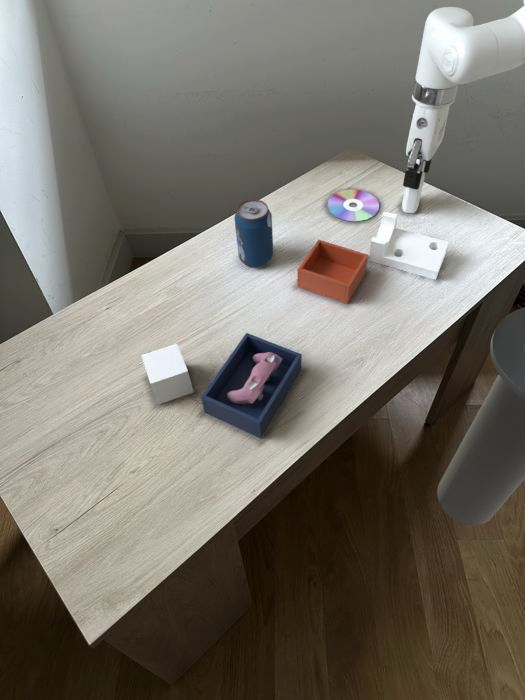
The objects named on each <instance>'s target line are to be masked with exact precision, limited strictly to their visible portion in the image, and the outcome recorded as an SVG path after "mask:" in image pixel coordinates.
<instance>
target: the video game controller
mask: <svg viewBox="0 0 525 700" xmlns="http://www.w3.org/2000/svg"><path fill="white" fill-rule="evenodd" d="M252 359H253V361H254V362H255V363H256V364H257V365H256V366H255V367H254V368H253V370H252V372H251V376H250V377H249V379H248V380H247V382H246V384H245V385H244V387H243V388H242V389H240V390H236V391H230V392H228V393H227V398H228V399H229V401H231V402H233V403H236V404H248V403H251V404H252V403H253V402H254V401H255V400H256V399H258V398H259V400H261V399H262V398H263V394H262V395H261V392H262V390H263V388H264V385H263V384H264V383H265V382H266V381H268V380H269V379H270V377H269V376H270V375H271V374H272V373H273V372H274V371H275V370H276V369H277V368H278V366H279V364H280V363H281V361H282V358H281V357H279V356H278V355H276V354H274V353H272V352H267V353H258V354H255V355H254V356H253V358H252ZM259 400H258V401H259Z"/></svg>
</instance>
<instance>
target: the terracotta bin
mask: <svg viewBox="0 0 525 700" xmlns="http://www.w3.org/2000/svg"><path fill="white" fill-rule="evenodd" d="M368 262H369V254H368V253H363V252H360V251H357V250H354V249H351V248H347V247H344V246H341V245H338V244H335V243H332V242H328V241H325V240H322V239H317V241H316V242H315V244H314V245H313V247H312V248H311V249H310V251H308V254H307V255H306V257H305V258H304V259H303V261H302V262H301V264H300V265H299V267H298V268H297V283H296V284H297V285H296V286H297V288H300V289H302V290H305V291H308V292H310V293H311V292H312V293H314V294H317V295H319V296H323V297H325V298H328V299H330V300H334V301H336V302H340V303H343V304H346V305H348V304H349V302H350V300H351V299H352V297H353V295H354V293H355V292H356V290H357V289H358V287H359V285H360V284H361V282H362V280H363V278H364V277H365V275H366V273H367V266H368Z"/></svg>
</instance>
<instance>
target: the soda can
mask: <svg viewBox="0 0 525 700" xmlns="http://www.w3.org/2000/svg"><path fill="white" fill-rule="evenodd" d="M234 229H235V236H236V245H237V247H236V248H237V255H238V259H239V260H240V262H242V264H244V265H245V267H248V268H250V269H259V268H263V267H265V266H266V265H268V263H269V262H270V261H271V260H272V258H273V257H274V239H273V238H274V237H273V236H274V235H273V216H272V212H271V211H270V209H269V206H268V204H267V203H266V202H265V201H263V200H260V199H247V200H244V201H241V203H239V204H238V206H237V207H236V212H235V214H234Z"/></svg>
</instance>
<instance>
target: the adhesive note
mask: <svg viewBox="0 0 525 700" xmlns="http://www.w3.org/2000/svg"><path fill="white" fill-rule="evenodd" d="M140 356H141V360H142V363H143V366H144V368H145V372H146V375H147V379H148V381H149V384H150V387H151V390H152V392H153V395H154V398H155V400H156V402H157V405H158V406H159V405H161V404H165V403H167V402H170V401H173V400H175V399H179V398H182V397H184V396H187V395H190V394H192V393H194V388H193V385H192V381H191V377H190V374H189V371H188V368H187V365H186V362H185V360H184V357H183V354H182V352H181V350H180V347H179V344H178V343H174V344H171V345H167V346H165V347H161V348H159V349H156V350H153V351H150V352H146V353H143V354H141V355H140Z"/></svg>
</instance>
